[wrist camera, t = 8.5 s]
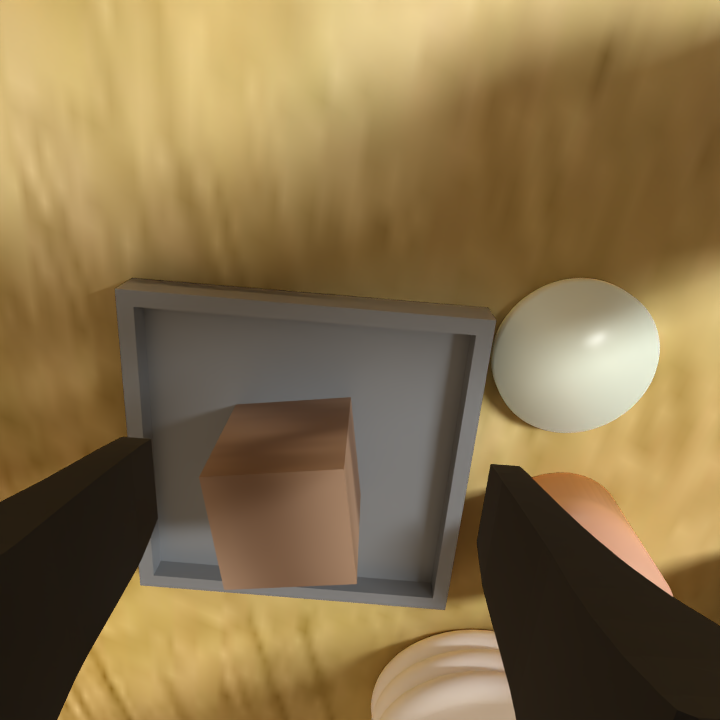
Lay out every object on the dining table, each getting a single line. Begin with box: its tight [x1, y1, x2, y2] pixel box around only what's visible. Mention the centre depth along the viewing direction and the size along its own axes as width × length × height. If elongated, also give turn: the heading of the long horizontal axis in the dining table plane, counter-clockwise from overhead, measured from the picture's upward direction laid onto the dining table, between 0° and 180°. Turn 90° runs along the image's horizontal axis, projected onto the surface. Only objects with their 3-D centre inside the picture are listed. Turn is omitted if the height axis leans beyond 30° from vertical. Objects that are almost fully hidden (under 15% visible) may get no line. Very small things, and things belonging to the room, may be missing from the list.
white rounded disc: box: [491, 278, 660, 433], centre depth 22 cm, size 6×6×1 cm
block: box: [199, 397, 361, 590], centre depth 21 cm, size 4×4×5 cm
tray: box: [115, 278, 496, 610], centre depth 23 cm, size 13×13×2 cm
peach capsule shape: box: [532, 473, 673, 596], centre depth 23 cm, size 6×6×5 cm
